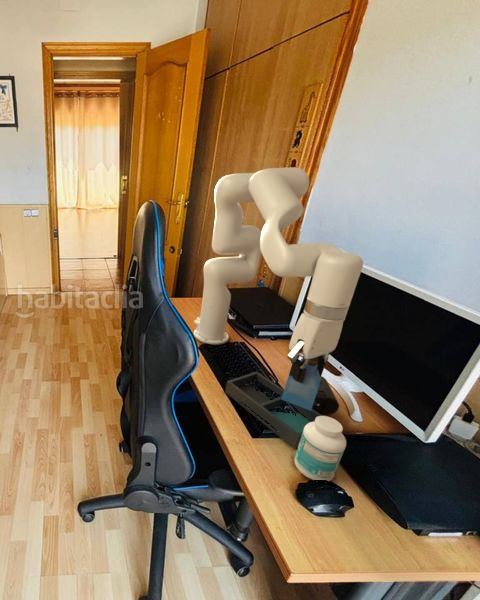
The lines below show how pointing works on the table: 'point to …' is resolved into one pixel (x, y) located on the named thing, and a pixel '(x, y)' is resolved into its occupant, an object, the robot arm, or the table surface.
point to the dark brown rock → (325, 399)
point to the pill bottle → (320, 448)
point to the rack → (260, 404)
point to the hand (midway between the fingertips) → (305, 375)
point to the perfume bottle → (303, 387)
